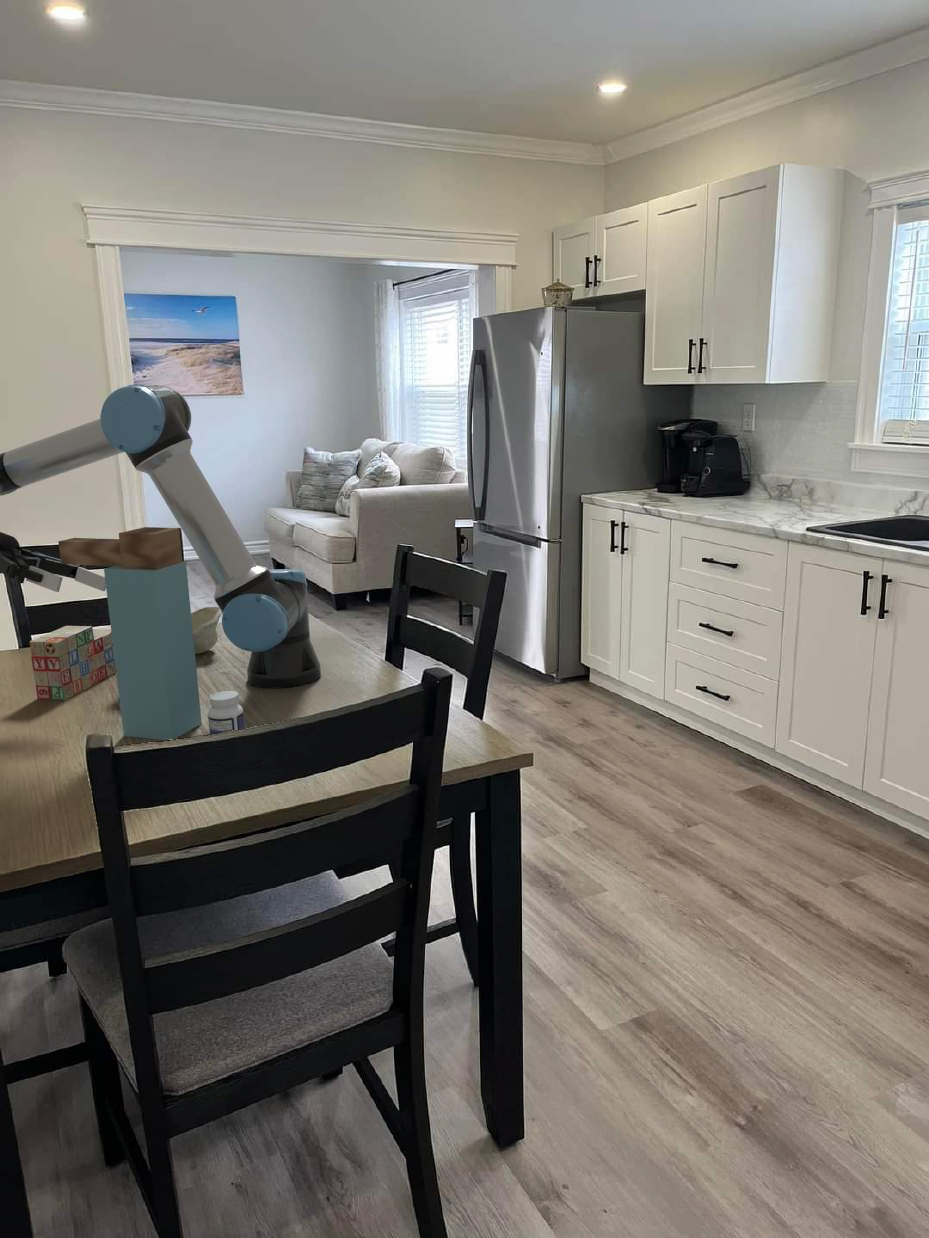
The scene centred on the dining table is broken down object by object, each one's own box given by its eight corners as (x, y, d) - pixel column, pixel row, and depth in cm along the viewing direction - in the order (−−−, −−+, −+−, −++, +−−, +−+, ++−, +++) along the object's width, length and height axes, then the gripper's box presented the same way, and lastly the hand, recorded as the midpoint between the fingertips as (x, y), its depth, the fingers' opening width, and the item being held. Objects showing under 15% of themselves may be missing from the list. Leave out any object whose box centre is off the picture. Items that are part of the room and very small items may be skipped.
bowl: (159, 649, 220) (155, 608, 218) (219, 641, 226) (215, 601, 224) (168, 664, 207) (163, 621, 205) (231, 656, 213) (228, 613, 210)
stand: (201, 723, 169) (185, 561, 162) (172, 740, 161) (154, 570, 154) (155, 718, 172) (137, 559, 165) (123, 735, 164) (103, 568, 157)
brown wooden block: (182, 562, 161) (179, 528, 160) (157, 569, 155) (154, 534, 153) (82, 558, 168) (78, 525, 166) (55, 565, 161) (50, 531, 160)
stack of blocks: (97, 668, 206) (91, 614, 203) (123, 669, 205) (117, 615, 202) (36, 699, 186) (28, 640, 183) (65, 701, 184) (56, 641, 182)
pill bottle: (232, 742, 160) (227, 687, 157) (253, 749, 156) (249, 693, 154) (204, 752, 155) (199, 696, 153) (225, 760, 152) (220, 702, 150)
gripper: (30, 568, 189) (118, 602, 185) (-67, 567, 165) (32, 605, 160) (39, 533, 188) (128, 566, 184) (-57, 526, 164) (43, 564, 160)
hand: (83, 584), depth 172 cm, fingers open, 13 cm apart
